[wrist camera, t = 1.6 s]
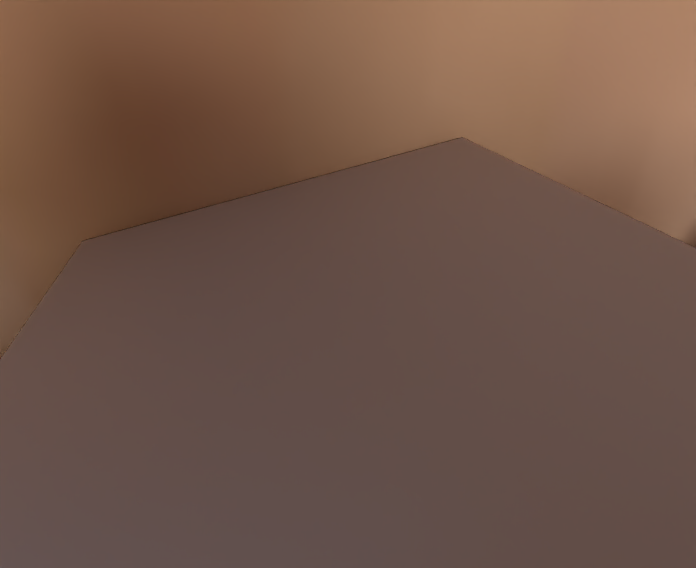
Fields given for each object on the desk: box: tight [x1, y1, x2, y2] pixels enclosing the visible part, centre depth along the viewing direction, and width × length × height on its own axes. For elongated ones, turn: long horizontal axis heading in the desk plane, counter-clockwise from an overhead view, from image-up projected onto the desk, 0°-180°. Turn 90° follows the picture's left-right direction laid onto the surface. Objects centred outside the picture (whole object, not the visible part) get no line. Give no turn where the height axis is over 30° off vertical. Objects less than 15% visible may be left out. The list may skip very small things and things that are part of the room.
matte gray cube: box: [0, 137, 696, 568], centre depth 7 cm, size 8×8×9 cm
